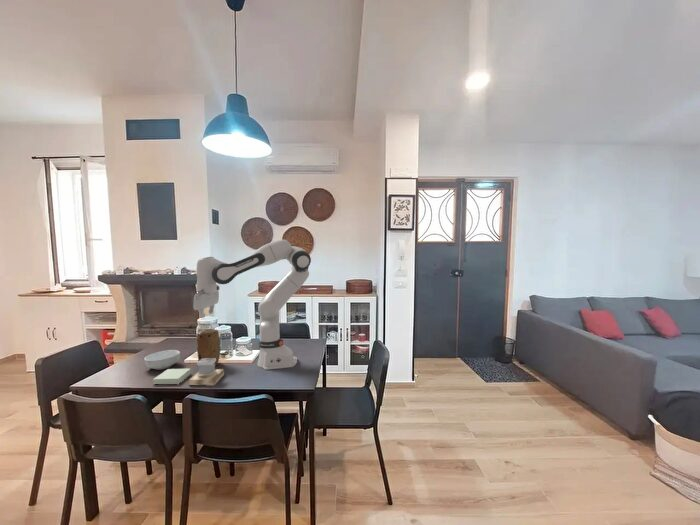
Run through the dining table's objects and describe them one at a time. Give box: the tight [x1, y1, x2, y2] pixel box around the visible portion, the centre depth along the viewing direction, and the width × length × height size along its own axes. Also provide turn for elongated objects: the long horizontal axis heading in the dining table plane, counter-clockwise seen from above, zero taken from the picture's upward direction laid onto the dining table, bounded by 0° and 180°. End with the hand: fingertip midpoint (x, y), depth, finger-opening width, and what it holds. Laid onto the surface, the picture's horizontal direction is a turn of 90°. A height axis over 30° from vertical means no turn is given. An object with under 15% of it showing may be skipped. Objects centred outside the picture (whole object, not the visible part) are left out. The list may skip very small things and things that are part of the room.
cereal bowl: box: [143, 349, 181, 370], centre depth 162 cm, size 17×17×7 cm
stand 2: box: [188, 368, 225, 386], centre depth 145 cm, size 12×12×3 cm
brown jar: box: [196, 328, 221, 366], centre depth 164 cm, size 11×8×20 cm
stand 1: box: [152, 368, 192, 385], centre depth 146 cm, size 12×12×3 cm
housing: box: [196, 358, 217, 377], centre depth 145 cm, size 7×6×7 cm
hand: (206, 315), depth 147 cm, fingers open, 8 cm apart
